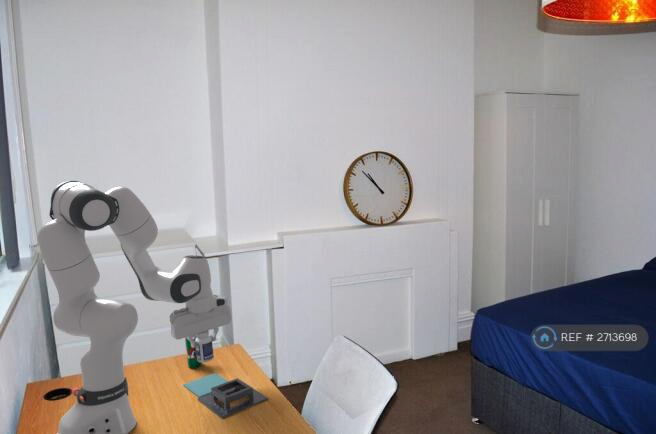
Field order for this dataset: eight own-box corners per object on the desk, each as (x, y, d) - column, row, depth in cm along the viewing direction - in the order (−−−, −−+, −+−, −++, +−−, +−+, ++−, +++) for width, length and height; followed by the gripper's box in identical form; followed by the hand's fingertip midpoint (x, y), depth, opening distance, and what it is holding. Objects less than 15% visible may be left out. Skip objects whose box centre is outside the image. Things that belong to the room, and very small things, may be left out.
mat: (199, 397, 171) (199, 396, 171) (183, 385, 180) (183, 384, 180) (232, 385, 179) (232, 383, 178) (215, 374, 188) (215, 372, 188)
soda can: (205, 363, 197) (201, 332, 195) (196, 369, 193) (193, 337, 191) (194, 362, 199) (190, 331, 197) (185, 367, 195) (181, 336, 193)
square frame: (222, 418, 157) (220, 406, 157) (197, 400, 170) (196, 388, 169) (268, 399, 167) (267, 387, 167) (242, 383, 180) (241, 371, 179)
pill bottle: (216, 355, 181) (213, 328, 179) (211, 362, 175) (208, 334, 174) (200, 356, 181) (197, 328, 180) (195, 363, 176) (191, 334, 174)
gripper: (173, 314, 166) (178, 356, 169) (231, 297, 179) (235, 337, 181) (165, 309, 171) (170, 350, 173) (222, 294, 184) (226, 332, 186)
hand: (203, 343), depth 177 cm, fingers closed on pill bottle, 5 cm apart
